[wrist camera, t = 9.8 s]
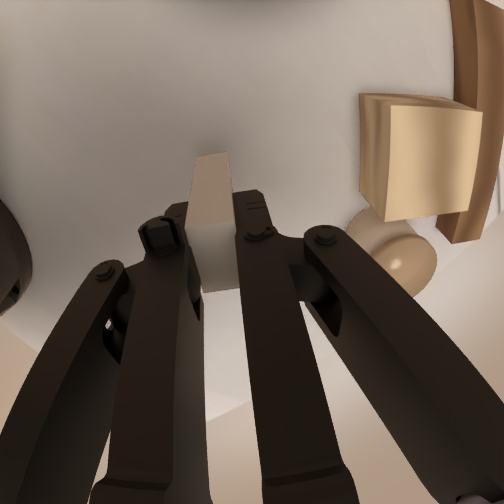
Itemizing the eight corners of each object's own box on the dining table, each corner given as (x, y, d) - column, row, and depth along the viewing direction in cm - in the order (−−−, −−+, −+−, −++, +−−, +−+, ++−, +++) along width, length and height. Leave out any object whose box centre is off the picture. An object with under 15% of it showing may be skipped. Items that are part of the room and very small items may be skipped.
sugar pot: (338, 267, 28) (358, 313, 23) (342, 205, 24) (369, 246, 19) (399, 257, 28) (425, 298, 23) (410, 198, 24) (445, 235, 19)
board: (435, 226, 25) (451, 244, 23) (449, -4, 12) (472, -6, 10) (463, 222, 25) (479, 239, 23) (481, 9, 12) (504, 10, 10)
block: (358, 190, 23) (384, 222, 19) (357, 93, 18) (390, 105, 14) (435, 183, 23) (467, 210, 19) (442, 97, 18) (482, 112, 14)
